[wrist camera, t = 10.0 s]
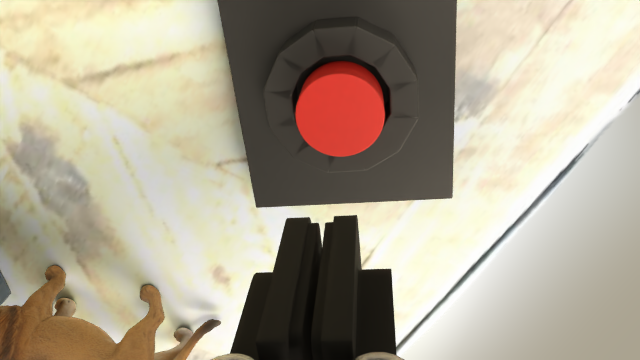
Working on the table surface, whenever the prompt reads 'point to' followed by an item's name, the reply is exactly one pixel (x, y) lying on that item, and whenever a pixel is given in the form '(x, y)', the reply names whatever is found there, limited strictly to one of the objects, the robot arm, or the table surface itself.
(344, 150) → the red button
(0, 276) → the panel
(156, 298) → the lion figurine
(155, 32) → the table surface
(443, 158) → the button box
